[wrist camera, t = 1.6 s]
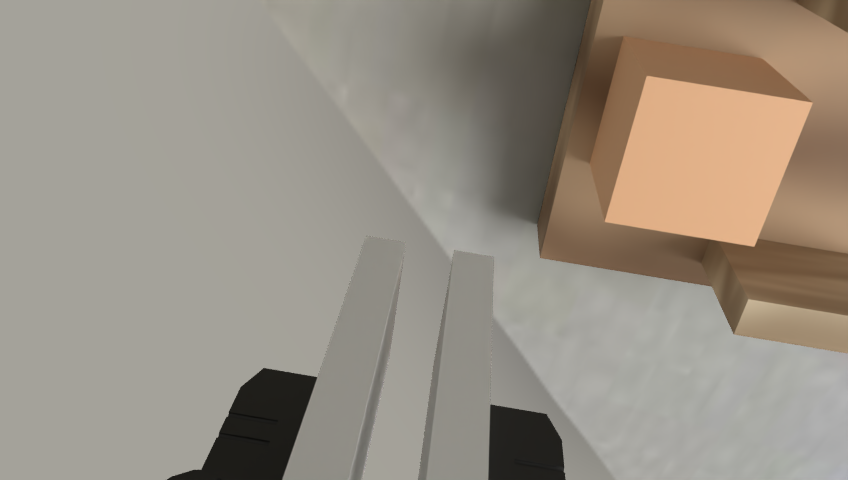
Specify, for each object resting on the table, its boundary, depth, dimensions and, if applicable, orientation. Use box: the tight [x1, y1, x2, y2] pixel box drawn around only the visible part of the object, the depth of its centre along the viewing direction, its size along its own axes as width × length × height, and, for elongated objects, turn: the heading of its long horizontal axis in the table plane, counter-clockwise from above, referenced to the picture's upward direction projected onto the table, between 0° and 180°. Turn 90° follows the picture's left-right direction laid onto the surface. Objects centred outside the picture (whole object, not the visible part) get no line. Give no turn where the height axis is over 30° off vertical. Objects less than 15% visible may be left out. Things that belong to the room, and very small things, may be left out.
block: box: [590, 36, 813, 247], centre depth 26 cm, size 5×5×5 cm
